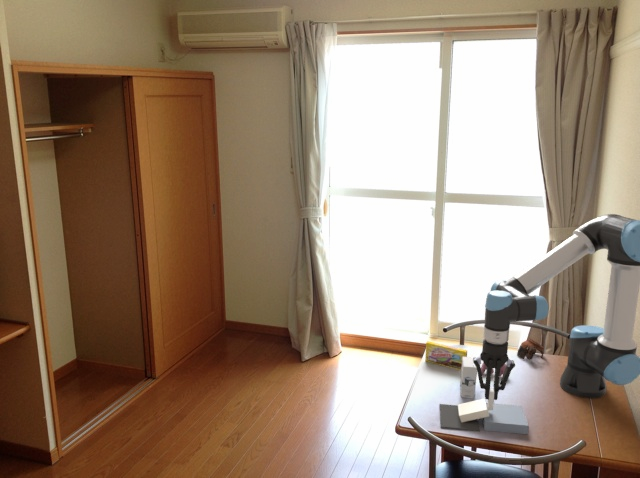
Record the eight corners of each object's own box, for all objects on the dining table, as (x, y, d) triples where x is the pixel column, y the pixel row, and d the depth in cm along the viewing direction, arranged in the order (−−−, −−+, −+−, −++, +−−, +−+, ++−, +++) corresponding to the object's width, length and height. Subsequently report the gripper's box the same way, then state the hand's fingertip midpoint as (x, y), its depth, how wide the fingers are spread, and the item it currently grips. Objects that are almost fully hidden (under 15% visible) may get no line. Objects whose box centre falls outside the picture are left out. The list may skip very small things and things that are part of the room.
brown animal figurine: (513, 351, 238) (524, 335, 237) (534, 364, 236) (545, 347, 235) (517, 356, 226) (528, 339, 225) (539, 370, 224) (550, 352, 223)
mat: (475, 408, 193) (476, 407, 193) (479, 431, 180) (479, 430, 180) (439, 405, 195) (439, 403, 195) (440, 427, 182) (440, 426, 182)
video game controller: (507, 381, 215) (510, 363, 216) (505, 381, 211) (508, 362, 212) (481, 375, 220) (484, 357, 221) (478, 374, 216) (481, 356, 217)
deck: (521, 413, 190) (522, 405, 189) (527, 434, 178) (528, 425, 178) (480, 410, 192) (481, 402, 191) (484, 430, 181) (485, 421, 180)
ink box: (459, 385, 209) (461, 355, 206) (474, 386, 208) (476, 357, 205) (460, 397, 200) (462, 366, 198) (475, 398, 199) (477, 367, 197)
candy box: (424, 361, 228) (425, 342, 226) (426, 359, 229) (427, 340, 227) (464, 371, 219) (466, 351, 217) (466, 369, 221) (467, 349, 219)
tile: (486, 405, 188) (484, 398, 188) (489, 416, 182) (487, 409, 181) (460, 411, 191) (457, 404, 190) (461, 422, 184) (459, 415, 183)
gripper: (475, 343, 177) (470, 412, 182) (519, 346, 174) (512, 416, 180) (473, 333, 184) (468, 400, 189) (515, 336, 182) (509, 403, 187)
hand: (490, 408), depth 185 cm, fingers closed
